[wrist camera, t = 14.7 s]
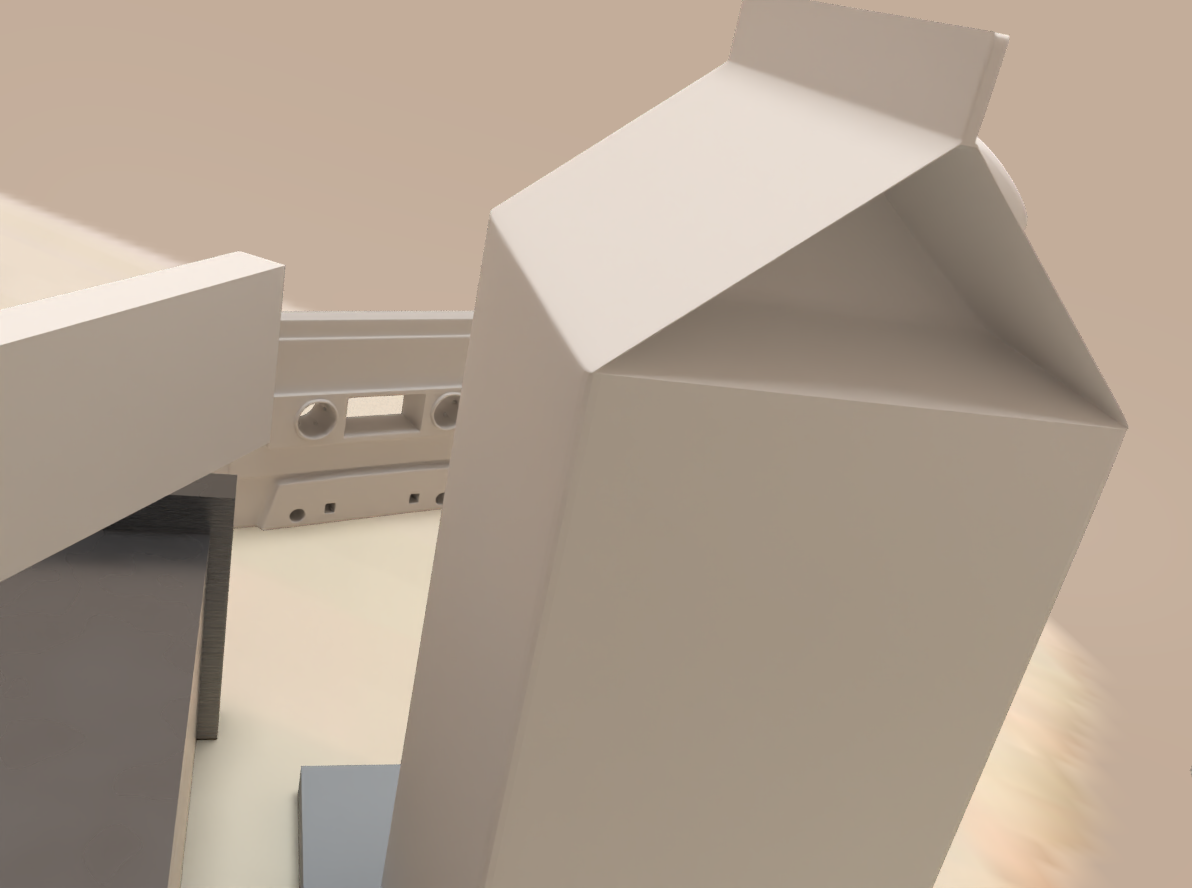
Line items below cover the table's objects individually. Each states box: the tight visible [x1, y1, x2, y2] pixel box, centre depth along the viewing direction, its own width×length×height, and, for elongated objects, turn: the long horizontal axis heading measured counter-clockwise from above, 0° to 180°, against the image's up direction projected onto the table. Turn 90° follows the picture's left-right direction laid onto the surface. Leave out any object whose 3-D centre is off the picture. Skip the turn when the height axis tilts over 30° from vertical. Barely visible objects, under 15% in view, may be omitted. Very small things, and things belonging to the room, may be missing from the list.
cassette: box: [212, 311, 474, 530], centre depth 39 cm, size 12×2×8 cm, turn 124°
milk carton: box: [381, 0, 1128, 888], centre depth 18 cm, size 7×7×19 cm
